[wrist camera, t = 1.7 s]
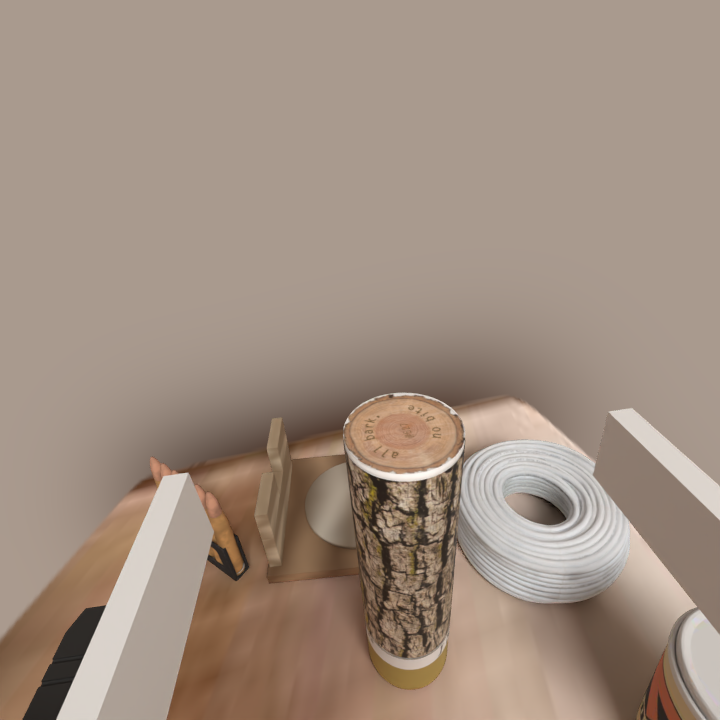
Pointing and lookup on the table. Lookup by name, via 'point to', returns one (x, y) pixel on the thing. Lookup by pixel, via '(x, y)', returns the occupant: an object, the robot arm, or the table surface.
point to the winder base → (305, 514)
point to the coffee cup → (686, 674)
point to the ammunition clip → (224, 541)
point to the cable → (537, 541)
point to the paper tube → (405, 528)
